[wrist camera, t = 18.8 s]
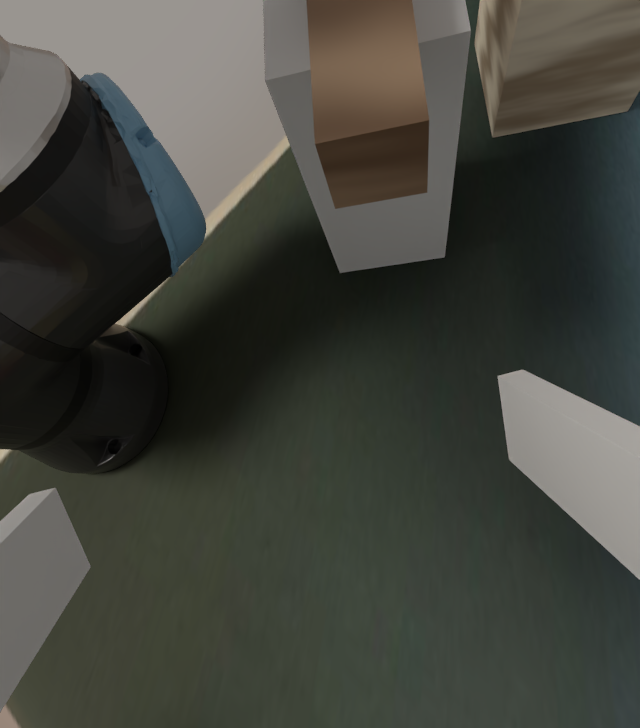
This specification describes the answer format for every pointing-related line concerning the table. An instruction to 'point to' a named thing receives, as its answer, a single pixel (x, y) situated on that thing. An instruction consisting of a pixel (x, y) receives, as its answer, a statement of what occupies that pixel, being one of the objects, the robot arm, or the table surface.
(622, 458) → the robot arm
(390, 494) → the table surface
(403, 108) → the walnut bar
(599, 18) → the birch pedestal
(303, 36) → the grey plinth
